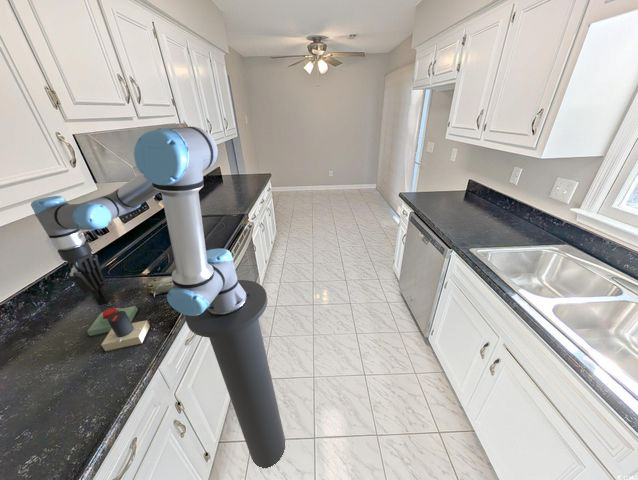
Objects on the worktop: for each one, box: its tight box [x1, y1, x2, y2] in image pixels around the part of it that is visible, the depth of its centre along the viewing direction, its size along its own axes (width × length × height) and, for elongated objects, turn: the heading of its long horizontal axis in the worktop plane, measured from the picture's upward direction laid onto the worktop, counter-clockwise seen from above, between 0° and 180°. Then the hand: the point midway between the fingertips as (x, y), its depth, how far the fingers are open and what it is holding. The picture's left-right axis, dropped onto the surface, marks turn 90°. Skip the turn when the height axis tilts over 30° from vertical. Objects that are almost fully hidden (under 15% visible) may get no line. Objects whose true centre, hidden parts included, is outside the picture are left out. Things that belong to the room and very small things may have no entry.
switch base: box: [86, 305, 139, 337], centre depth 94 cm, size 12×10×4 cm
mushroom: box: [145, 276, 174, 298], centre depth 111 cm, size 14×10×5 cm, turn 98°
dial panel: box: [100, 319, 151, 352], centre depth 87 cm, size 11×9×3 cm
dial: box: [108, 311, 134, 337], centre depth 85 cm, size 5×5×7 cm
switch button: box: [102, 307, 117, 319], centre depth 93 cm, size 4×4×2 cm
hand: (104, 303), depth 91 cm, fingers closed
